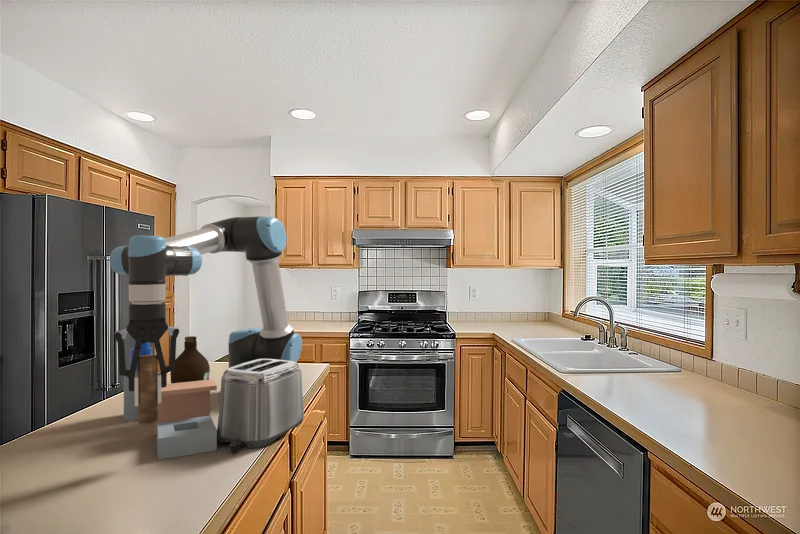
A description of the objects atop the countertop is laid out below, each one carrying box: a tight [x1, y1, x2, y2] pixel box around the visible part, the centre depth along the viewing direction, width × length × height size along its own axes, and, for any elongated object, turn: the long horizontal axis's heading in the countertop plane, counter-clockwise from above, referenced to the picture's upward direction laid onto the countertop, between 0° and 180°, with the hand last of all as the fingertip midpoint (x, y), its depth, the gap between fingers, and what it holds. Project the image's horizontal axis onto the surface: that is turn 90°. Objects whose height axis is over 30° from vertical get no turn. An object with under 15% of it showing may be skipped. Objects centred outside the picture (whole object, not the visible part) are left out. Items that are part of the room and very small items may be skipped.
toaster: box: [216, 359, 305, 455], centre depth 129 cm, size 17×30×19 cm, turn 161°
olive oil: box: [170, 335, 211, 384], centre depth 139 cm, size 11×11×25 cm
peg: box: [137, 354, 159, 425], centre depth 109 cm, size 4×4×15 cm
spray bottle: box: [123, 339, 153, 422], centre depth 143 cm, size 9×9×25 cm
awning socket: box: [153, 378, 218, 461], centre depth 123 cm, size 16×20×13 cm
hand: (148, 402), depth 109 cm, fingers closed on peg, 4 cm apart
